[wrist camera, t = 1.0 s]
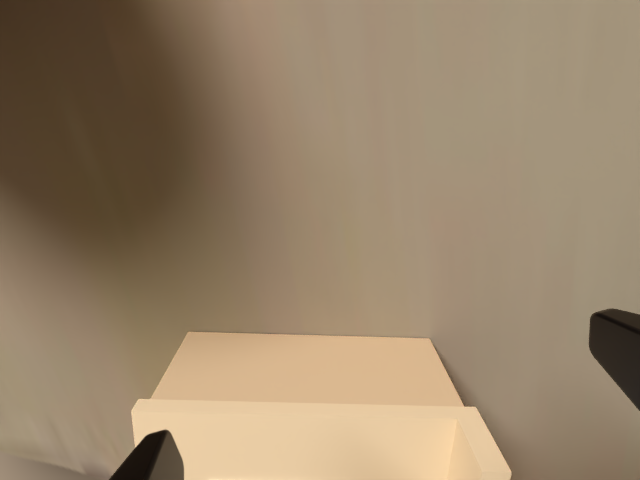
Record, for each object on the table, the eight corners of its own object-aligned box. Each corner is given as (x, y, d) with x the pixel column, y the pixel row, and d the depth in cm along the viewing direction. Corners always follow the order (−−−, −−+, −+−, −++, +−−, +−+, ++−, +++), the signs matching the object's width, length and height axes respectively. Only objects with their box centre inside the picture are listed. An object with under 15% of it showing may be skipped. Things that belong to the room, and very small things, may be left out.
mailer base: (429, 338, 23) (465, 407, 17) (410, 482, 25) (435, 578, 20) (188, 331, 22) (149, 400, 17) (197, 477, 25) (166, 575, 20)
